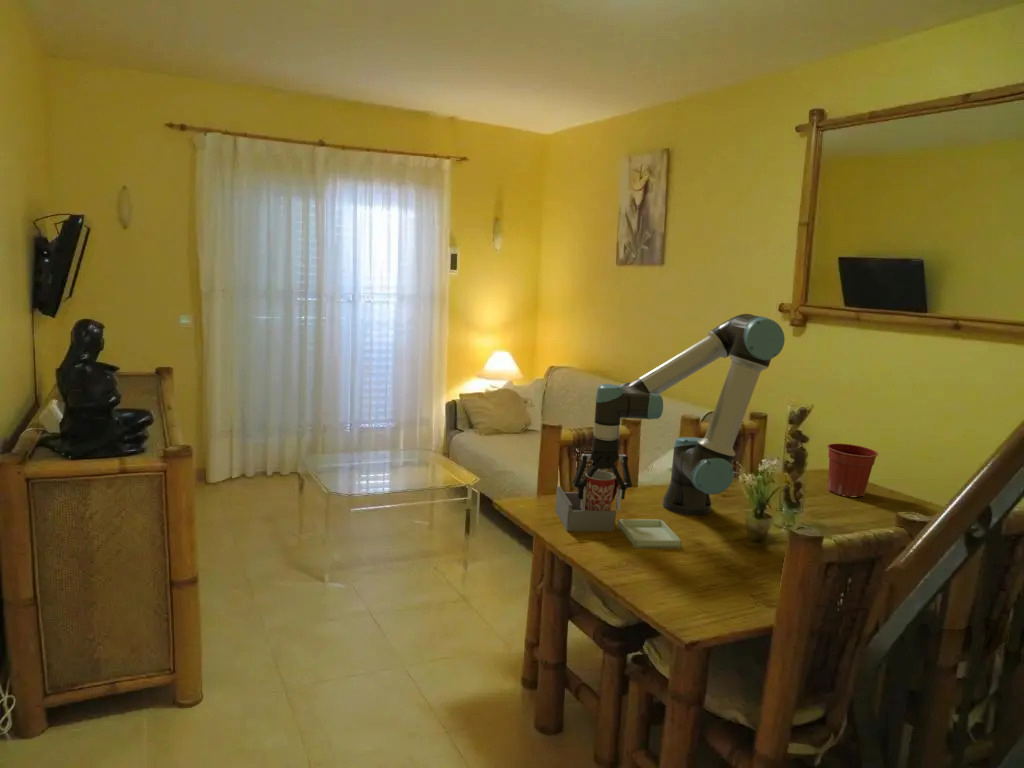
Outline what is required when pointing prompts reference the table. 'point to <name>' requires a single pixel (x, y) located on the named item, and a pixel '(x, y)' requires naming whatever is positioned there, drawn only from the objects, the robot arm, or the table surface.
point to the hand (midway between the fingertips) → (600, 509)
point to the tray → (649, 533)
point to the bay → (581, 514)
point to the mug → (600, 491)
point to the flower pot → (849, 469)
